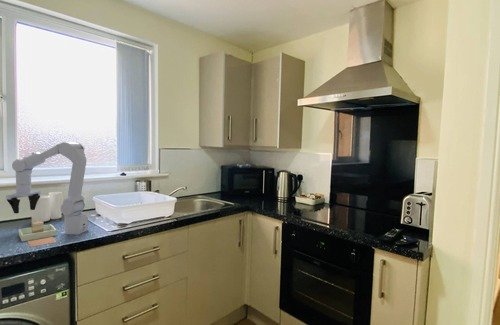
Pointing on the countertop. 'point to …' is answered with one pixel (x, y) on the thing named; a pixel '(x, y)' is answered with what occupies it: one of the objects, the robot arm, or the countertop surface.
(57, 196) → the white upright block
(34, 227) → the birch block
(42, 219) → the cup
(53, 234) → the pale green bin
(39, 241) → the terracotta tile
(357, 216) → the countertop surface
